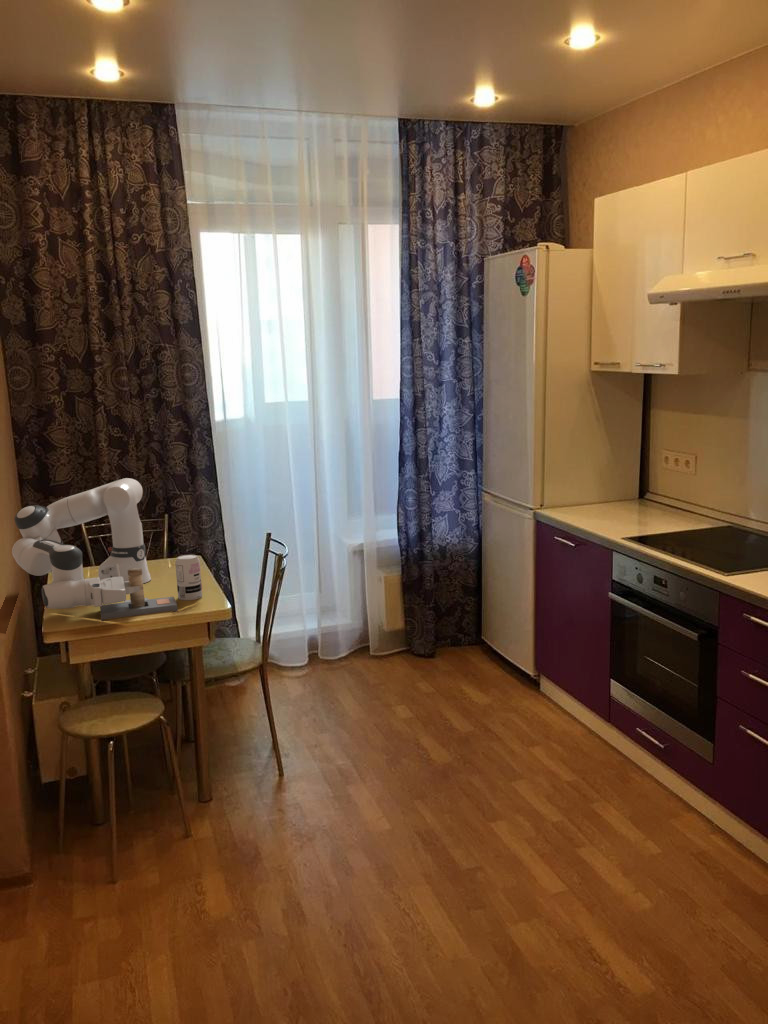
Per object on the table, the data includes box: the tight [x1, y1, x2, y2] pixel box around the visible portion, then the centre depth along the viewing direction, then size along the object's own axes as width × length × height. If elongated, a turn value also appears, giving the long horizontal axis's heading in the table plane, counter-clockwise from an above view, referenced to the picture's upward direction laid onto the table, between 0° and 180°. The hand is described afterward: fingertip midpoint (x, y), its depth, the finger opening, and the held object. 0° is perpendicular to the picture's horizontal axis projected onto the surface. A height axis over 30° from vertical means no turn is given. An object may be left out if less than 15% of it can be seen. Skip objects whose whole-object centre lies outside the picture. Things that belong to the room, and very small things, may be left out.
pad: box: [123, 597, 149, 602], centre depth 290 cm, size 8×8×1 cm
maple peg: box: [128, 568, 145, 608], centre depth 279 cm, size 4×4×13 cm
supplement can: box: [174, 554, 203, 601], centre depth 293 cm, size 8×8×15 cm
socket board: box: [99, 596, 179, 622], centre depth 280 cm, size 24×11×3 cm, turn 110°
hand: (139, 586), depth 279 cm, fingers closed on maple peg, 4 cm apart
